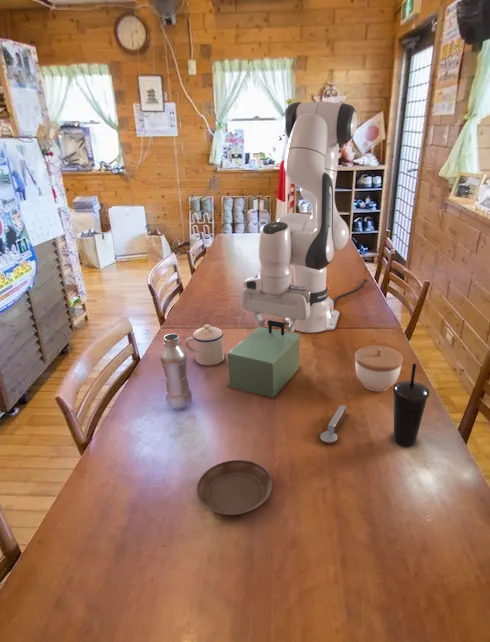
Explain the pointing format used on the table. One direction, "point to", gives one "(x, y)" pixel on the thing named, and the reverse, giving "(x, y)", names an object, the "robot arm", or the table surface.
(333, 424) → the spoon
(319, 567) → the table surface
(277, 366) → the bin
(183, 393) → the silver metal bottle
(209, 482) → the saucer
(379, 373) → the lidded bowl
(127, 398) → the table surface
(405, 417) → the drinking cup
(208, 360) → the teacup with lid
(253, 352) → the bin lid
